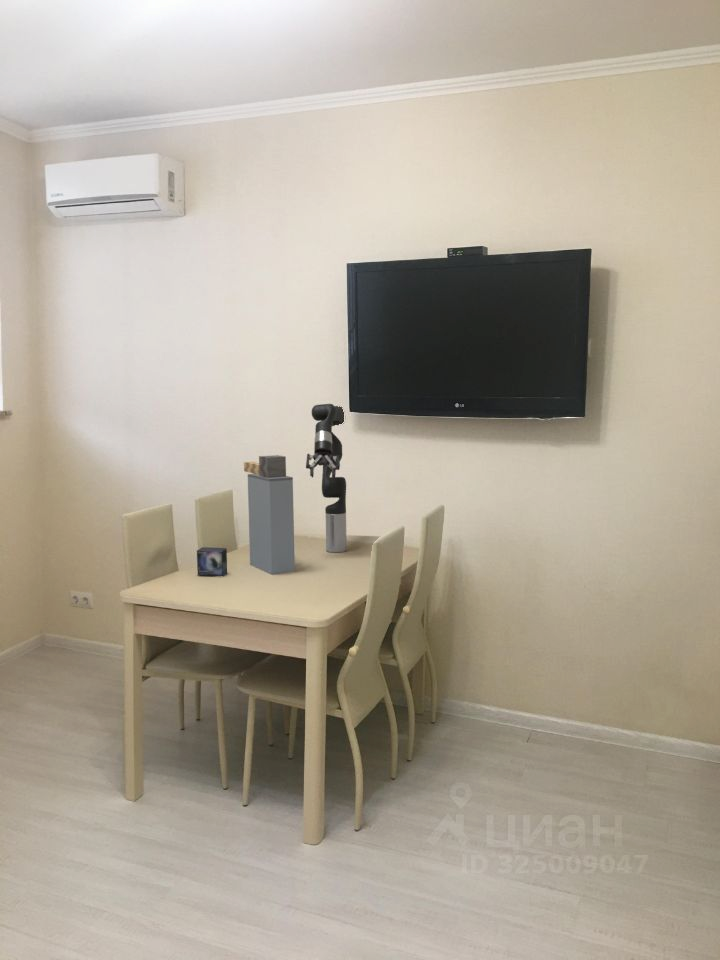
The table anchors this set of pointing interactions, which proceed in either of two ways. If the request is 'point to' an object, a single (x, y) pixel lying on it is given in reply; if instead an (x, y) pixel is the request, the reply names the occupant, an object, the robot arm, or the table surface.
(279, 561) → the stand
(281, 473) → the peg
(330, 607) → the table surface
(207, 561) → the small box
